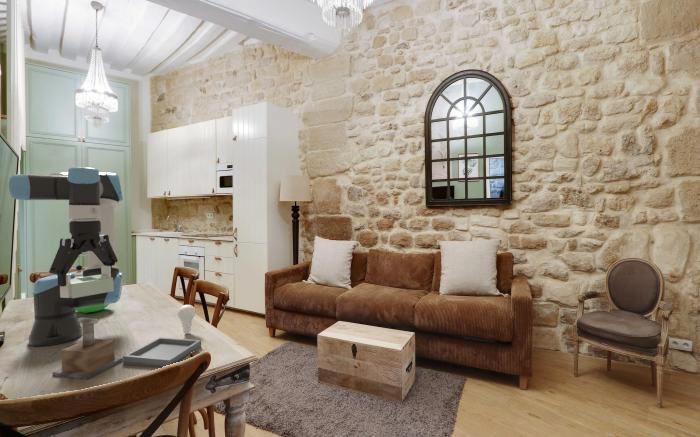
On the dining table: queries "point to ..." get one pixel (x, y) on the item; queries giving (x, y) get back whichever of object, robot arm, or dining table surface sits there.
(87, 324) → the stake block
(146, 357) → the tray
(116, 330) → the dining table surface
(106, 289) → the collar
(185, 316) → the lightbulb
